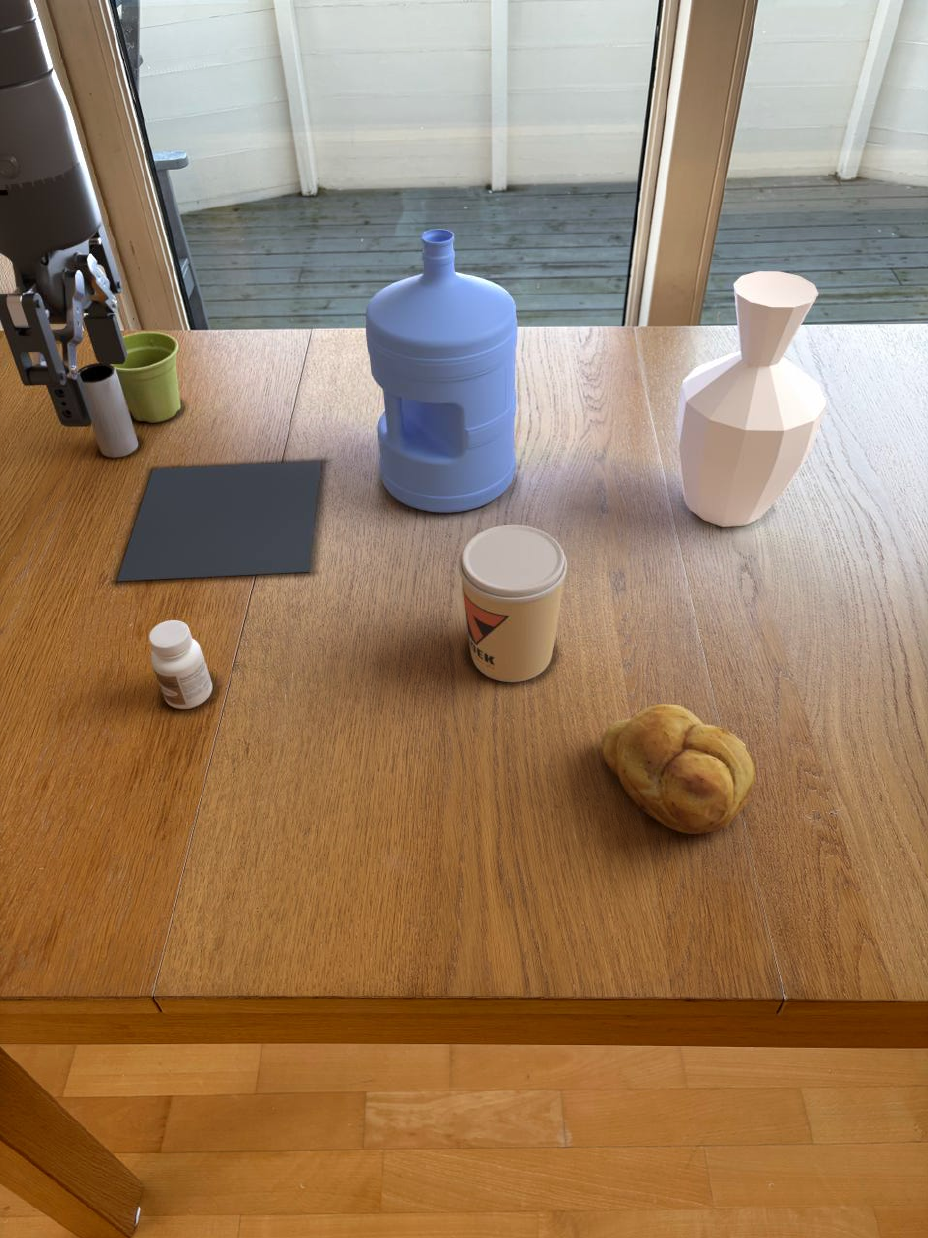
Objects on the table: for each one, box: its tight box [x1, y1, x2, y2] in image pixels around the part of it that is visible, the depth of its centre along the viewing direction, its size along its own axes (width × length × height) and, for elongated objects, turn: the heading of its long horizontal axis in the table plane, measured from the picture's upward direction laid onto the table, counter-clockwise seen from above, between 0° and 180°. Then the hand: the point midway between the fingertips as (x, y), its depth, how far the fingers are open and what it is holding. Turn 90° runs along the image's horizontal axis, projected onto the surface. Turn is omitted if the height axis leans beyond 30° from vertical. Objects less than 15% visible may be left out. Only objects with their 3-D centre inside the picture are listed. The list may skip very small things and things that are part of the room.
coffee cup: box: [458, 524, 568, 683], centre depth 86 cm, size 9×9×12 cm
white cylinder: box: [78, 362, 139, 459], centre depth 113 cm, size 4×4×10 cm
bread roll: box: [601, 703, 756, 835], centre depth 76 cm, size 13×10×8 cm
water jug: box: [365, 228, 518, 514], centre depth 101 cm, size 16×16×28 cm
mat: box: [116, 460, 322, 583], centre depth 106 cm, size 20×20×1 cm
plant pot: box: [110, 331, 182, 424], centre depth 119 cm, size 9×9×9 cm
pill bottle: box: [148, 619, 213, 710], centre depth 85 cm, size 4×4×8 cm
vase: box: [675, 270, 828, 528], centre depth 97 cm, size 14×14×25 cm
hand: (96, 391), depth 69 cm, fingers open, 8 cm apart
